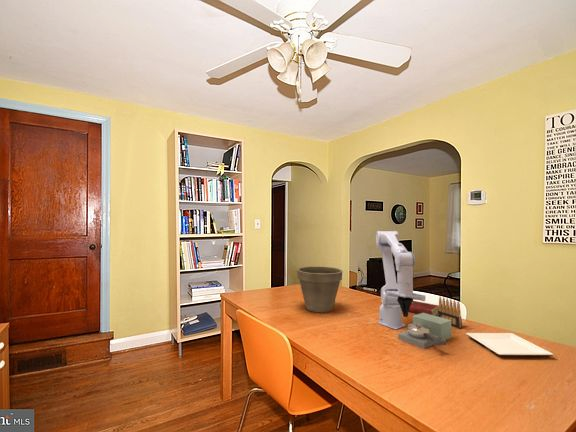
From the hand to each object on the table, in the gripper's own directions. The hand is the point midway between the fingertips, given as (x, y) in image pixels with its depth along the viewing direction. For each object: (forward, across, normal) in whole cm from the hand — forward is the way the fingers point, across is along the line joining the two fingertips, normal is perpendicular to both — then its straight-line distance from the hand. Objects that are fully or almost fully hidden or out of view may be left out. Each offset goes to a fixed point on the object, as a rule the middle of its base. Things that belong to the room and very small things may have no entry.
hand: (405, 316), depth 112 cm
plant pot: (+10, -49, +17) cm, 53 cm away
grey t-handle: (+7, +7, 0) cm, 10 cm away
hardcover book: (+10, -6, +43) cm, 45 cm away
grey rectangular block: (+9, +6, +6) cm, 13 cm away
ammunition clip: (+10, +12, +30) cm, 33 cm away
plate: (+10, +32, +15) cm, 37 cm away
